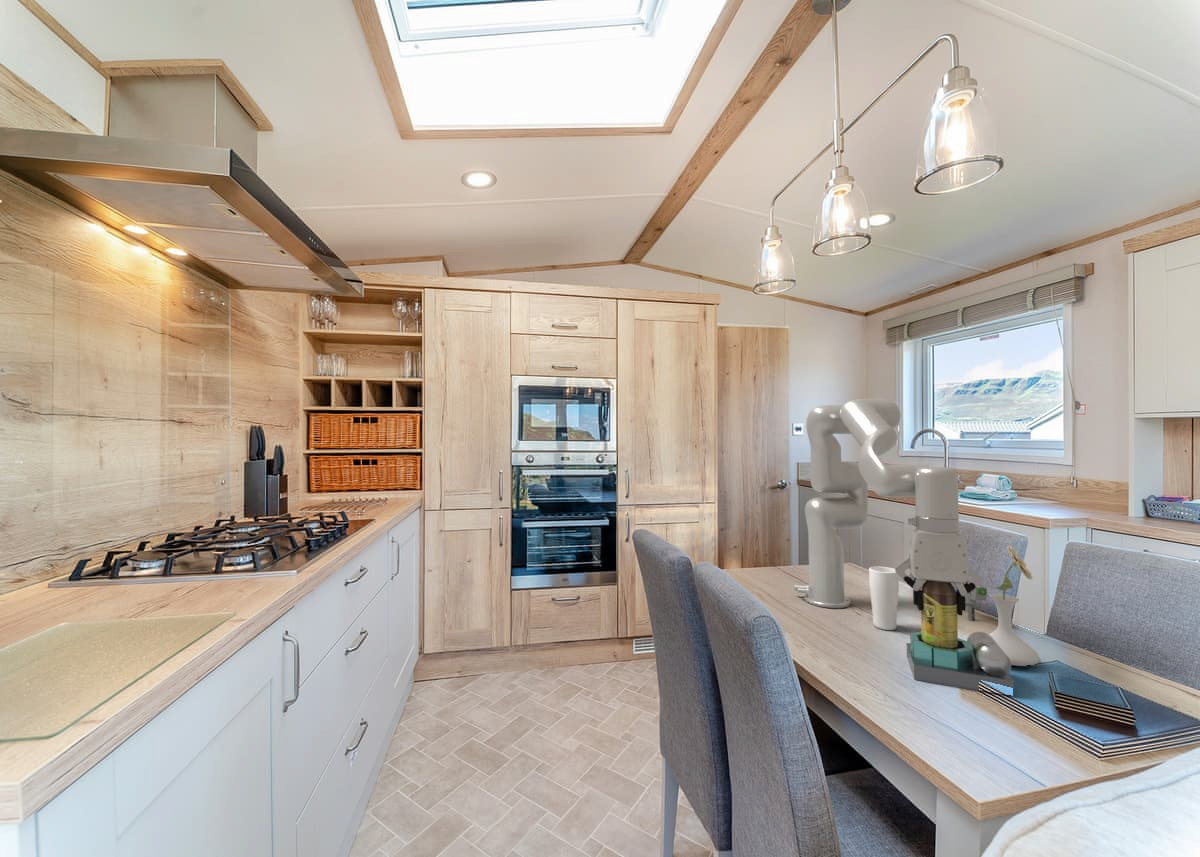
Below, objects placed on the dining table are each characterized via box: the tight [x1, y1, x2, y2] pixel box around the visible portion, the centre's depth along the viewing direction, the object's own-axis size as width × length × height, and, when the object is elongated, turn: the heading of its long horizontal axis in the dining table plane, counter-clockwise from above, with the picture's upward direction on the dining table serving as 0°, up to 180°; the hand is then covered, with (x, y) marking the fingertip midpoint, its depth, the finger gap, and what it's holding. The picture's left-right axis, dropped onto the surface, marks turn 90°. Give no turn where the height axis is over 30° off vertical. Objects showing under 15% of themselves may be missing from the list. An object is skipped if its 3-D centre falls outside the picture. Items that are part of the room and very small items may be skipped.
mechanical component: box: [955, 583, 988, 621], centre depth 133 cm, size 3×10×10 cm, turn 174°
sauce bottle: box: [920, 580, 959, 650], centre depth 103 cm, size 6×6×20 cm
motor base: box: [906, 630, 1015, 692], centre depth 102 cm, size 16×12×8 cm
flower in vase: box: [988, 544, 1041, 667], centre depth 109 cm, size 13×11×25 cm
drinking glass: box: [868, 565, 900, 631], centre depth 128 cm, size 7×7×15 cm
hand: (938, 610), depth 103 cm, fingers closed on sauce bottle, 6 cm apart
